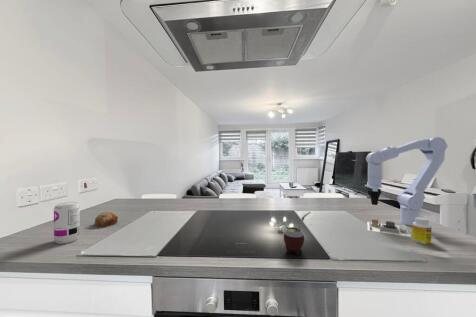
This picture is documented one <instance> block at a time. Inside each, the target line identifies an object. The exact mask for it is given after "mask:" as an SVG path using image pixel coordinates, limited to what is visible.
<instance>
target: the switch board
mask: <svg viewBox="0 0 476 317" xmlns="http://www.w3.org/2000/svg"><path fill="white" fill-rule="evenodd" d="M366 223H367V231H369V232H377V233H383V234H389V235H396V236H402V237H409V238H412V234H410V232H409V231H408V229H407V232H404V231H400V229H399V225H395V228H389V227H386V223H381V222H378V227H377V226H372V221H367V222H366Z"/></svg>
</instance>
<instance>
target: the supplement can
mask: <svg viewBox="0 0 476 317" xmlns="http://www.w3.org/2000/svg"><path fill="white" fill-rule="evenodd" d="M80 213H81V211H80V204H79V203H78V202H77V201H67V202H61V203H56V204H55V206H54V208H53V242H54V243H56V245H57V244H58V245H63V244H70V243H72V242H75V241H77V240H78V239H79V238H80V237H81V226H80V225H81V222H80V221H81V220H80V219H81V215H80Z"/></svg>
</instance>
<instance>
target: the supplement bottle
mask: <svg viewBox="0 0 476 317" xmlns="http://www.w3.org/2000/svg"><path fill="white" fill-rule="evenodd" d="M411 228H412V229H411V240H412V241H413V242H415V243H418V244H420V245H421V244H422V245H431V244H432V225H431V224H430V219H428V218H426V217H421V216H419V217H416V218H415V222H413V223H412V226H411Z"/></svg>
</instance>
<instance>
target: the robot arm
mask: <svg viewBox="0 0 476 317" xmlns="http://www.w3.org/2000/svg"><path fill="white" fill-rule="evenodd" d="M448 147H449V146H448V144H447V142H446V140H445V138H443V137H440V136H435V137H428V138H421V139H416V140H413V141H410V142H408V143H404V144H401V145H400V146H397V147H396V146H390V145H388V146H386V147H385V148H382V149H377V150H375V151H376V152H369V153H368V154H367V155H366V157H365V161H366V162H367V184H364V187H365V188H366V187H367V191H368V194H369V196H370V202H371V205H372V206H378V204H379V199H380V196H381V194H382V193H383V191H382V187H383V186H382V169H383V168H382V164H383V163H384V162H386V161H389V160H392V159H395V158H398V157H399V155H400V154H403V153H405V152H409V151H412V150H419V151H420V152H421V153H422V154H423V155H424V156H425V157H426V161H425V163H424V164H423V165H422V167H421V169H420V170H419V171H418V173H417V175H416V177H415V178H414V179H413V181H412V183H411V184H410V186H409V187H407V188H405V189H403V192H401V193H399V194H398V196H397V202H398V203H399V206H400V208H399V215H400V217H399V219H400V220H399V224H401V225H406V226H411V227H412V223H413V222H415V218H416V217H420V210H421V209H422V207H423V205H424V200H425V198H426V196H425V190H426V189H427V188H428V186H429V184H430V183H431V181H432V180H433V178H434V177H435V175H436V174H437V172H438V170H439V169H440V168H441V166H442V164H443V162H444V161H445V157H446V156H445V155H446V149H447V148H448Z"/></svg>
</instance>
